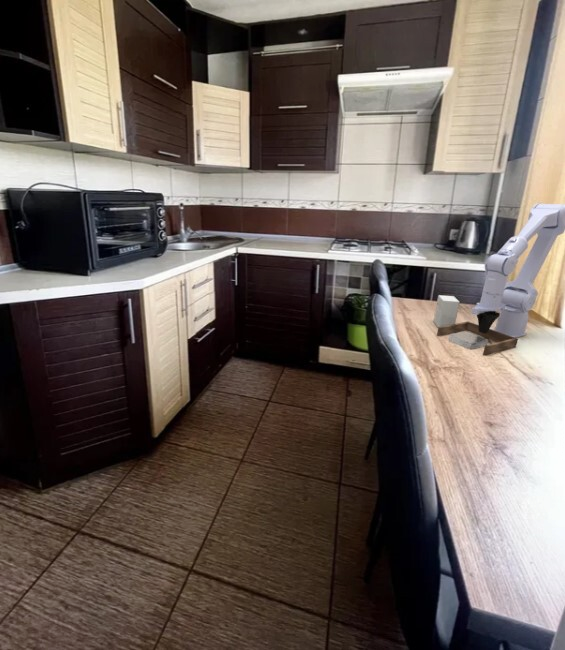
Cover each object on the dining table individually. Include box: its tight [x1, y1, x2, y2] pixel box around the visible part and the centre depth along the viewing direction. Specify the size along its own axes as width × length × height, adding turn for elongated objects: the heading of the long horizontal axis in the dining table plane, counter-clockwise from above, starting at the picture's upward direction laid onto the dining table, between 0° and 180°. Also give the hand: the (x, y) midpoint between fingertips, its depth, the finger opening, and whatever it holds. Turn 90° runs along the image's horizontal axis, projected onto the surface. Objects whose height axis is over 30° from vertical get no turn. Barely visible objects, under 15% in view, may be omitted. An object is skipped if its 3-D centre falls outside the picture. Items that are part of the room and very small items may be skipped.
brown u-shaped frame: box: [436, 321, 519, 356], centre depth 113 cm, size 15×18×3 cm
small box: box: [433, 294, 461, 328], centre depth 126 cm, size 8×6×10 cm
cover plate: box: [448, 331, 489, 351], centre depth 112 cm, size 8×8×2 cm
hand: (482, 332), depth 114 cm, fingers closed
